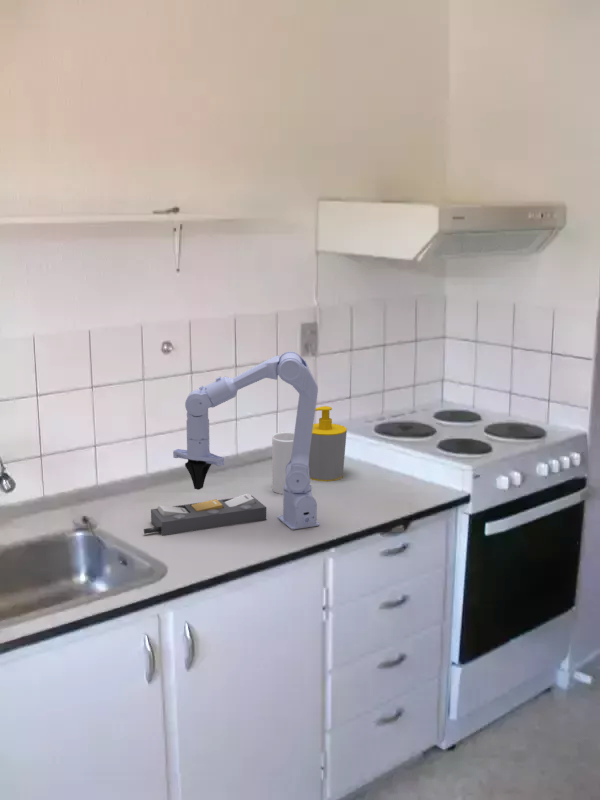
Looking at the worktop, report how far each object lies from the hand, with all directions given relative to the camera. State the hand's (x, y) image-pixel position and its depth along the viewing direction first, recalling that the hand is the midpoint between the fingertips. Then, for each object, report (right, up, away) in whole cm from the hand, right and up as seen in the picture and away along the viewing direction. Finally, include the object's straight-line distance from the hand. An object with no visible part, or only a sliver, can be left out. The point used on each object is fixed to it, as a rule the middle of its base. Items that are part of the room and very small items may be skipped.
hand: (198, 488), depth 231 cm
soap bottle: (+33, 0, +41) cm, 53 cm away
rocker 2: (+10, -4, +6) cm, 12 cm away
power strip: (+1, -9, +1) cm, 9 cm away
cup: (+22, -3, +27) cm, 35 cm away
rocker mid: (+2, -5, +2) cm, 6 cm away
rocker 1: (-6, -6, -2) cm, 9 cm away
